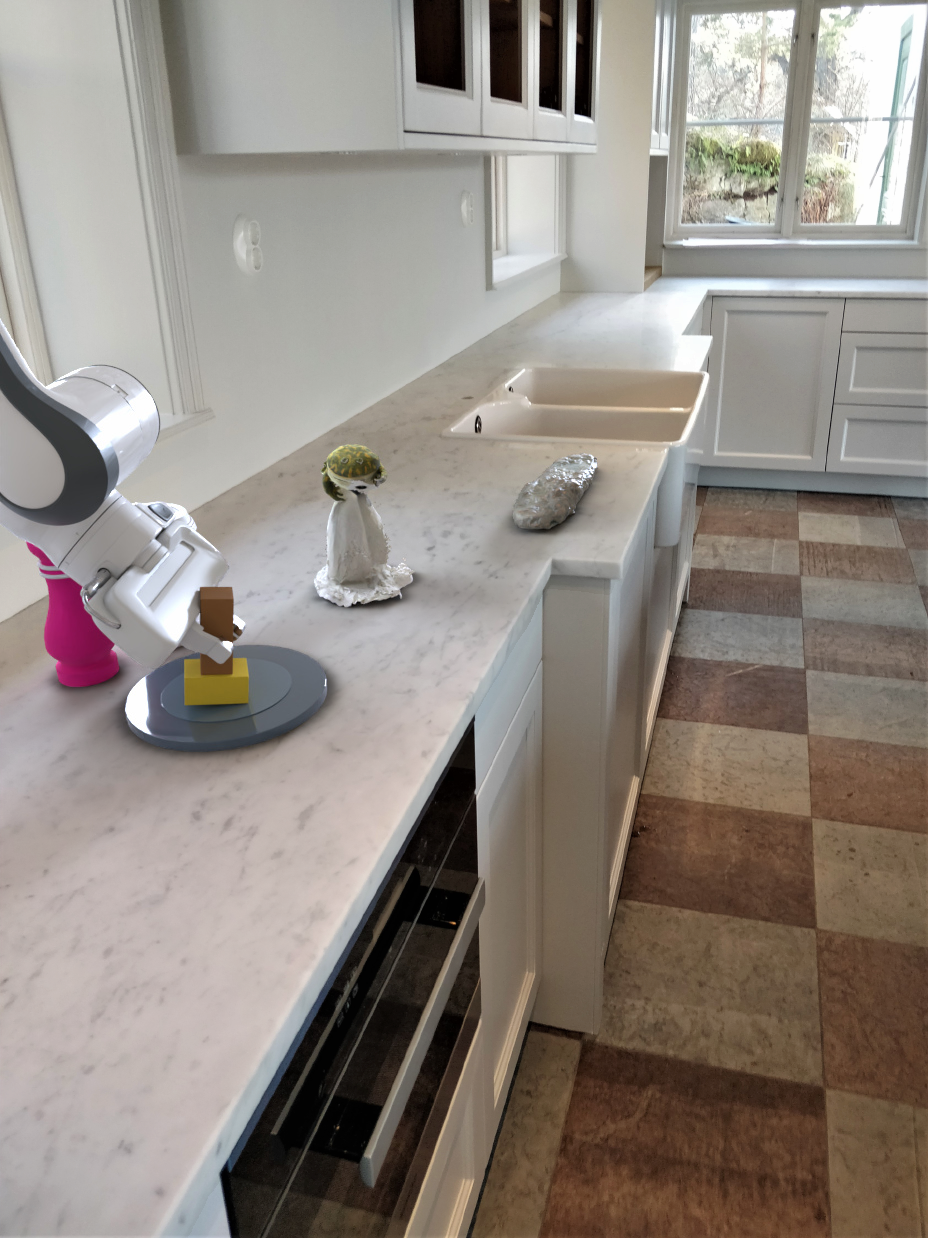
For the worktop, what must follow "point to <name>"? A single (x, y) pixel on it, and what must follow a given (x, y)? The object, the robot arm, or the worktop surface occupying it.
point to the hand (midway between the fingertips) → (235, 644)
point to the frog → (356, 532)
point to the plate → (276, 704)
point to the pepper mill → (73, 631)
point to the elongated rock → (554, 492)
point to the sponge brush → (206, 675)
